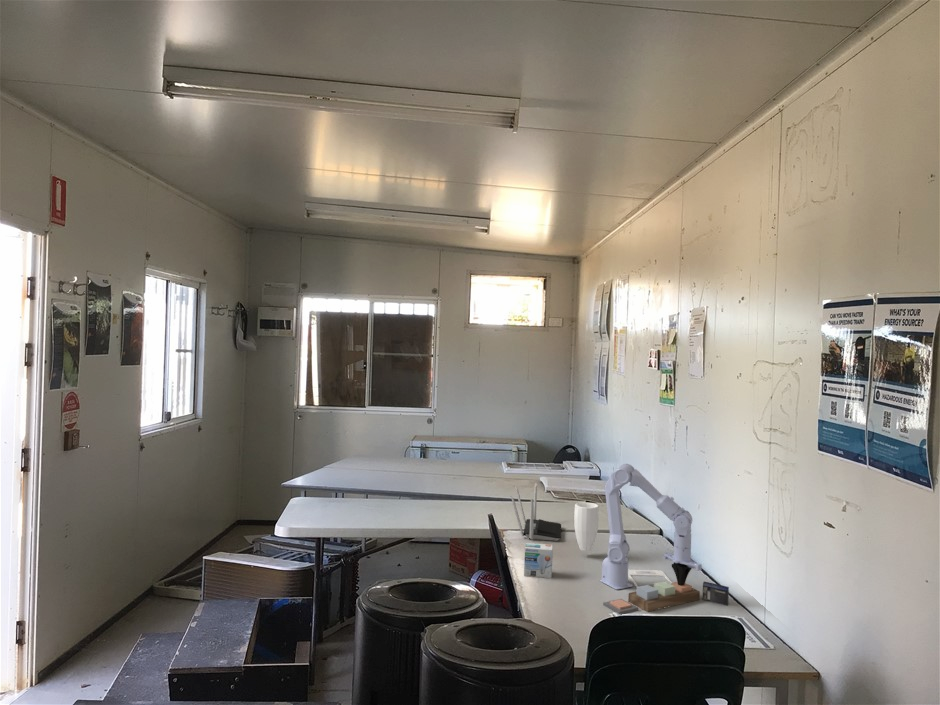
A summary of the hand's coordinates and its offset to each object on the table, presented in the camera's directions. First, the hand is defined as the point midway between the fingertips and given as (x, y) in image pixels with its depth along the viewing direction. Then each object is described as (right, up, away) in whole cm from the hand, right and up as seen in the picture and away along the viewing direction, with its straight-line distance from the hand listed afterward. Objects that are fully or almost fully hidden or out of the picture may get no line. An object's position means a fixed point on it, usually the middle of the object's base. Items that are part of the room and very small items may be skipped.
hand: (681, 584), depth 216 cm
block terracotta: (0, -4, 0) cm, 4 cm away
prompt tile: (-24, -4, -10) cm, 26 cm away
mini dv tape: (+11, -5, -3) cm, 12 cm away
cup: (-26, -4, +40) cm, 48 cm away
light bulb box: (-48, -3, +18) cm, 52 cm away
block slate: (-14, -2, -8) cm, 16 cm away
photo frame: (-6, -5, +16) cm, 18 cm away
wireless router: (-43, -3, +72) cm, 84 cm away
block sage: (-7, -3, -4) cm, 9 cm away
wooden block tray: (-7, -4, -4) cm, 9 cm away
